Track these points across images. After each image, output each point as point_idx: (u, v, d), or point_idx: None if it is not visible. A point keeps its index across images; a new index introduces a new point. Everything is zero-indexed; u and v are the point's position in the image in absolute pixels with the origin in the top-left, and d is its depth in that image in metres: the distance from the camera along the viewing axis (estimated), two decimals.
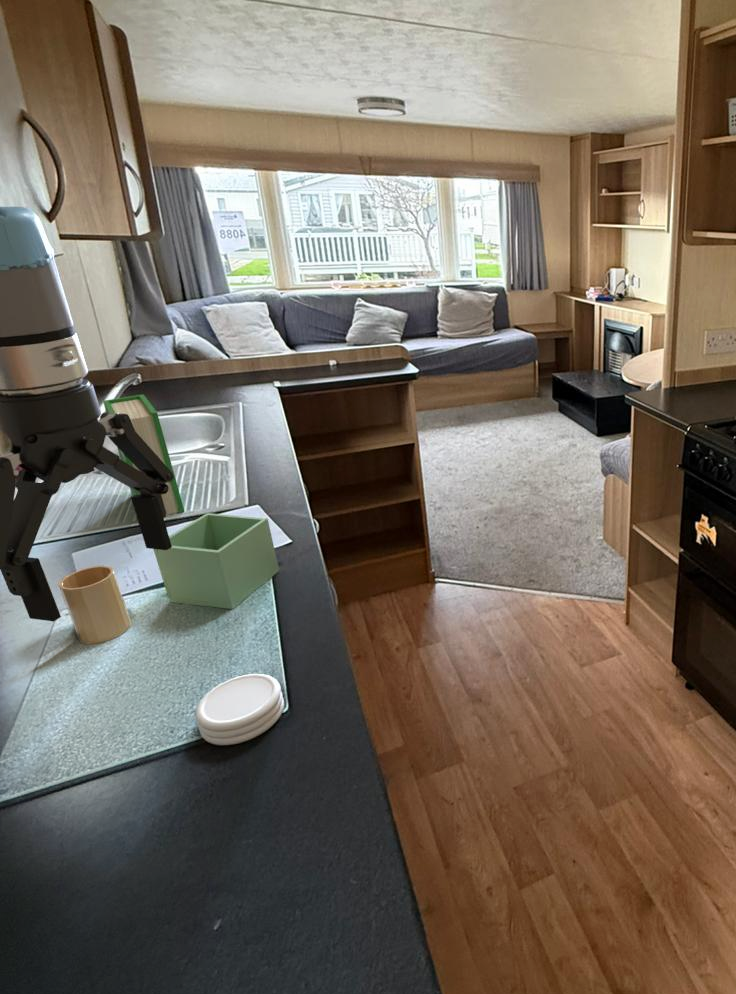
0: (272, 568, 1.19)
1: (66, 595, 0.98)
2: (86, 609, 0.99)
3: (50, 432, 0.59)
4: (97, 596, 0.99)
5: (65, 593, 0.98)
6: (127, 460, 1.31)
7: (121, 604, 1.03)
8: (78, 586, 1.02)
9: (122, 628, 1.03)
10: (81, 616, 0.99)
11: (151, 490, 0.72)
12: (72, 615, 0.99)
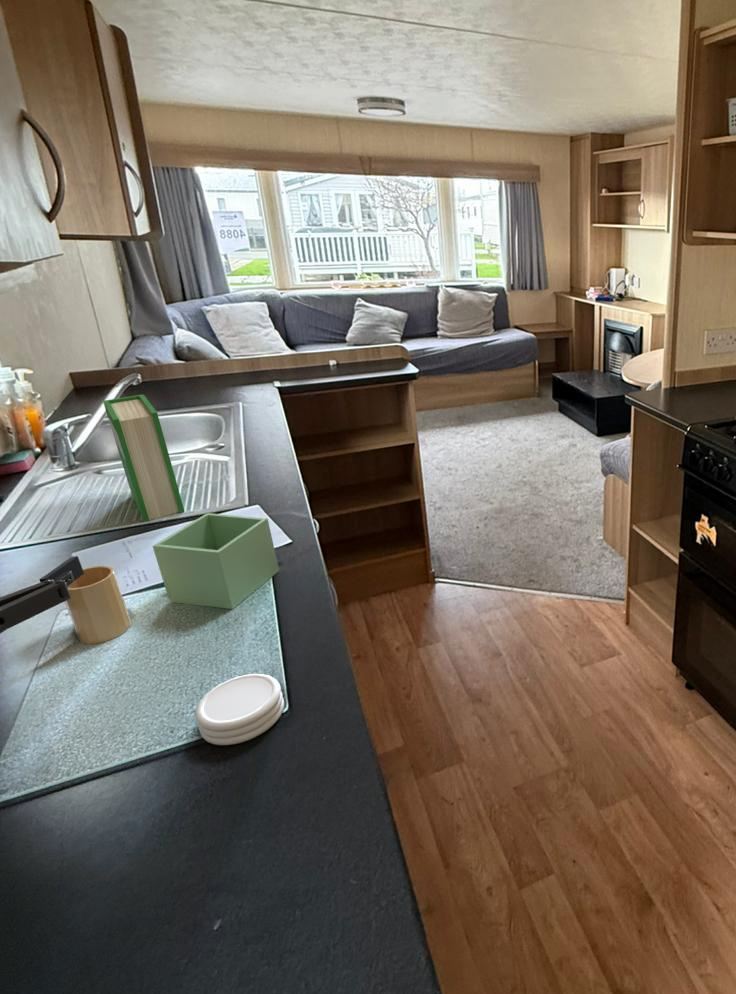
0: (272, 568, 1.19)
1: None
2: (86, 609, 0.99)
3: None
4: (97, 596, 0.99)
5: None
6: (127, 460, 1.31)
7: (121, 604, 1.03)
8: (78, 586, 1.02)
9: (122, 628, 1.03)
10: (81, 616, 0.99)
11: None
12: (72, 615, 0.99)
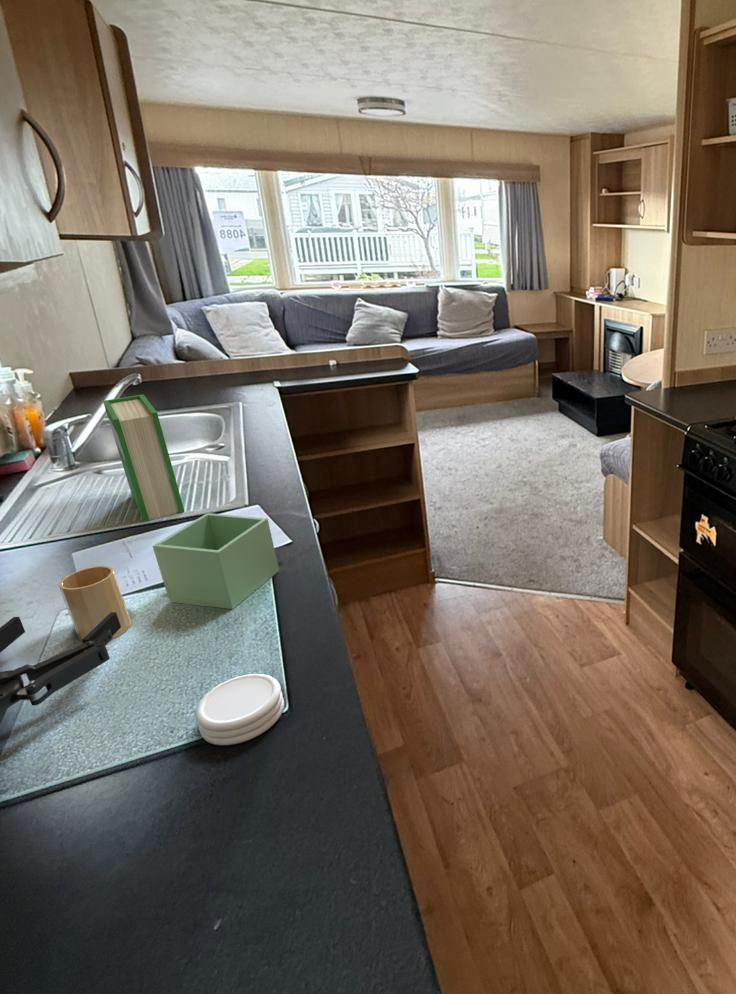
0: (272, 568, 1.19)
1: (66, 595, 0.98)
2: (86, 609, 0.99)
3: None
4: (97, 596, 0.99)
5: (65, 593, 0.98)
6: (127, 460, 1.31)
7: (121, 604, 1.03)
8: (78, 586, 1.02)
9: (122, 628, 1.03)
10: (81, 616, 0.99)
11: None
12: (72, 615, 0.99)
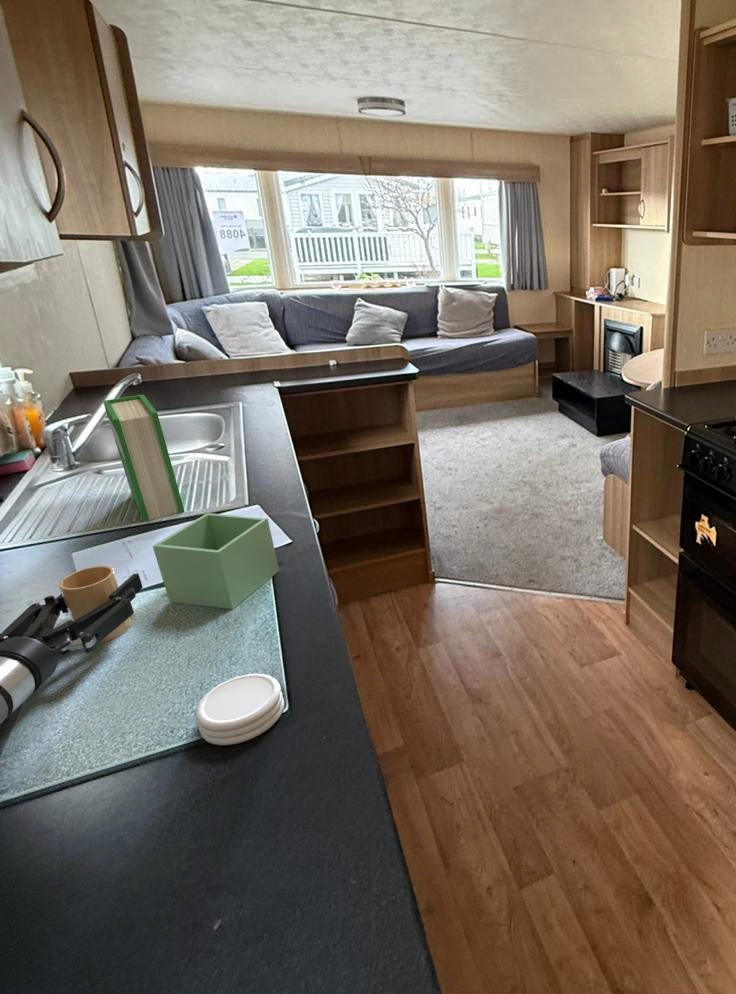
0: (272, 568, 1.19)
1: (66, 595, 0.98)
2: (86, 610, 0.99)
3: None
4: (97, 596, 0.99)
5: (65, 593, 0.98)
6: (127, 460, 1.31)
7: None
8: (78, 586, 1.02)
9: (122, 628, 1.03)
10: None
11: None
12: (72, 615, 0.99)
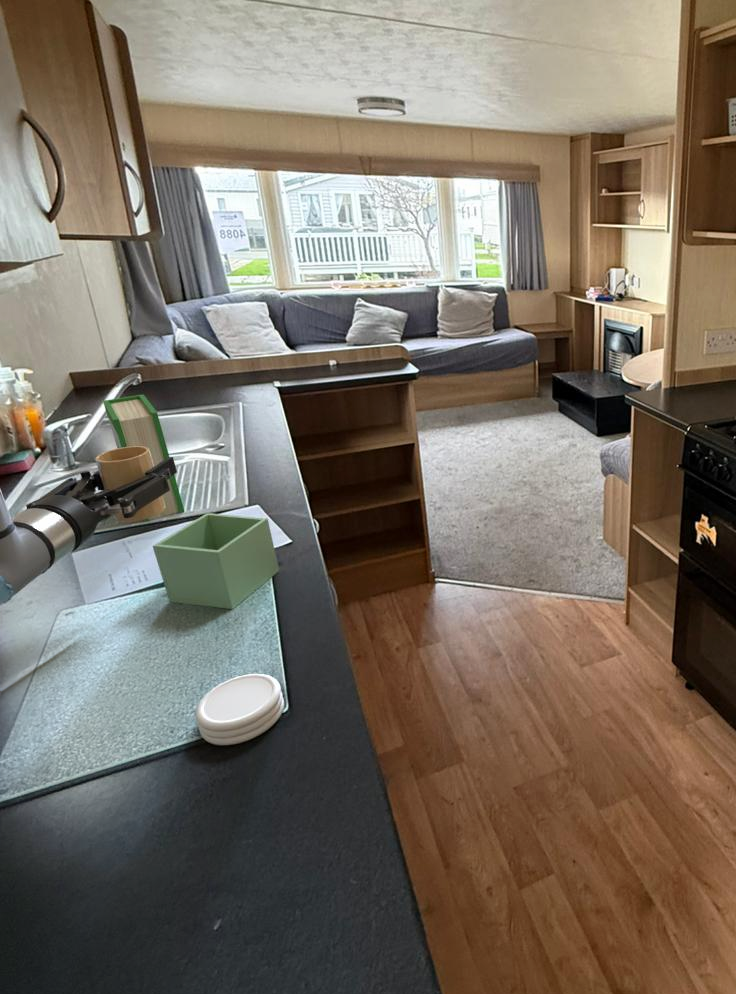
0: (272, 568, 1.19)
1: (102, 468, 0.97)
2: (122, 484, 0.98)
3: None
4: (133, 471, 0.98)
5: (101, 466, 0.97)
6: None
7: None
8: None
9: (157, 509, 1.02)
10: None
11: None
12: None
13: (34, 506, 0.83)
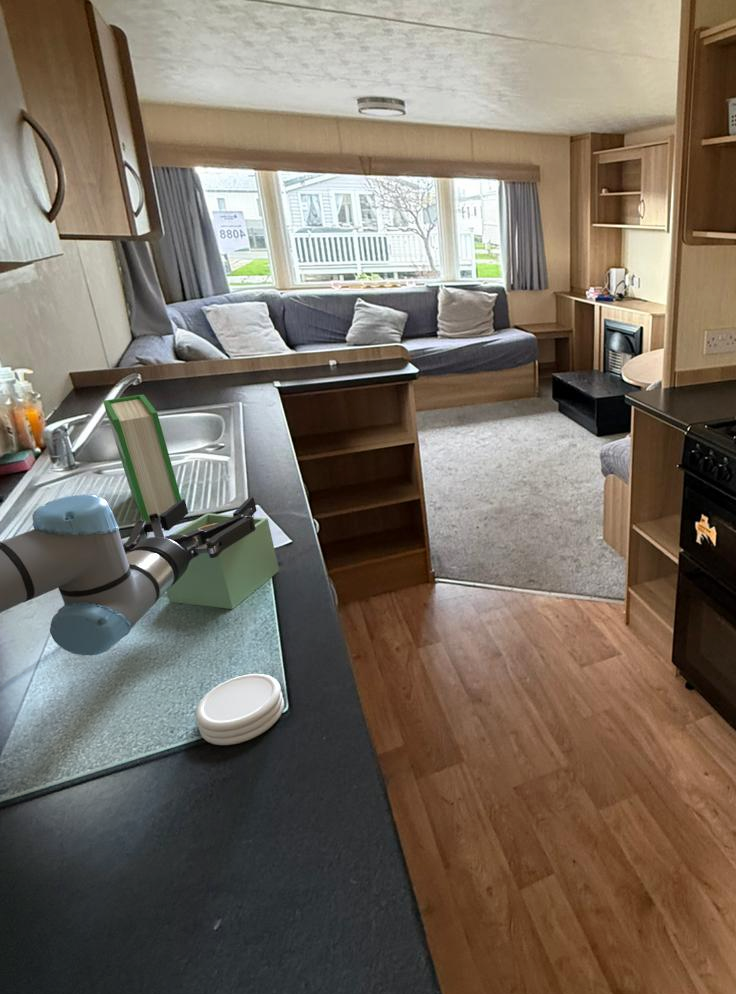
0: (272, 568, 1.19)
1: None
2: None
3: None
4: None
5: None
6: (127, 460, 1.31)
7: None
8: None
9: None
10: None
11: None
12: None
13: (138, 548, 0.93)
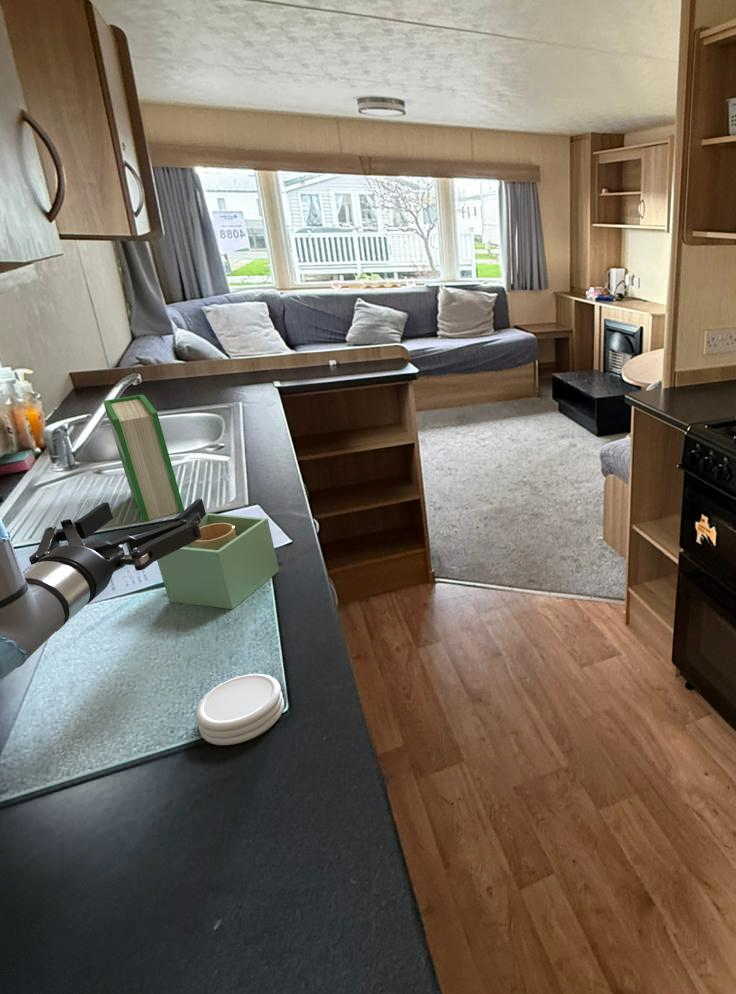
0: (272, 568, 1.19)
1: (196, 547, 1.09)
2: None
3: None
4: None
5: (196, 545, 1.09)
6: (127, 460, 1.31)
7: None
8: (202, 540, 1.14)
9: None
10: None
11: None
12: None
13: (46, 558, 0.78)
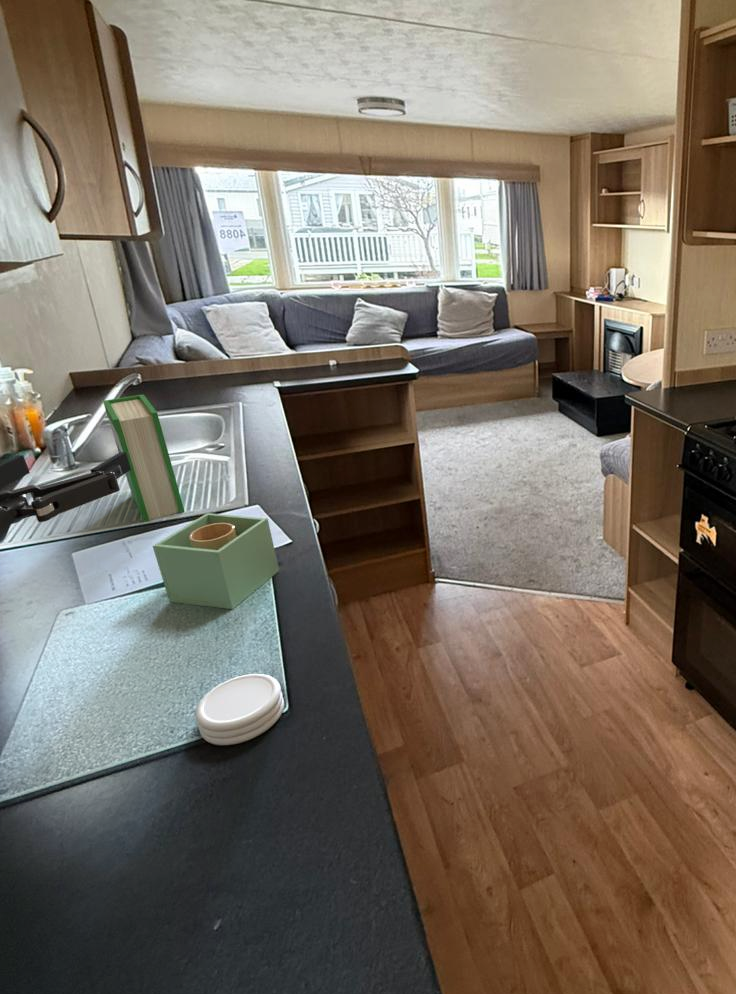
0: (272, 568, 1.19)
1: (196, 547, 1.09)
2: None
3: None
4: None
5: (196, 545, 1.09)
6: None
7: None
8: (202, 540, 1.14)
9: None
10: None
11: None
12: None
13: None
